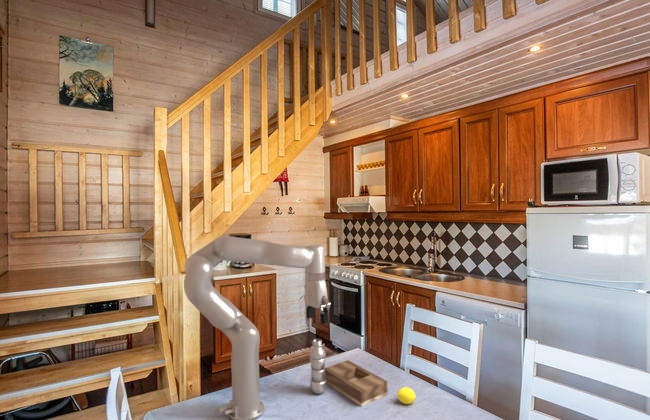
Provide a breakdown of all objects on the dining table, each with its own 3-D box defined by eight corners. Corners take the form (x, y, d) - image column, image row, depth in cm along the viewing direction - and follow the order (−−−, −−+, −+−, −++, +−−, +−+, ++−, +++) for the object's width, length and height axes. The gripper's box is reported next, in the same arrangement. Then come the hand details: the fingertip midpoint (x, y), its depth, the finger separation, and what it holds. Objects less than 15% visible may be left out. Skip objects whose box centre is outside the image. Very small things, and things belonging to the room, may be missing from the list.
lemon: (412, 399, 131) (414, 385, 131) (417, 407, 126) (418, 392, 126) (394, 398, 131) (395, 383, 131) (397, 406, 125) (399, 391, 126)
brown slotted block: (361, 406, 127) (361, 391, 127) (323, 380, 146) (323, 368, 146) (387, 394, 134) (387, 381, 134) (348, 372, 154) (348, 360, 154)
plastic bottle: (327, 387, 141) (326, 337, 141) (326, 396, 134) (324, 343, 134) (311, 387, 142) (310, 337, 142) (309, 396, 135) (307, 343, 135)
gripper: (296, 275, 143) (297, 317, 143) (320, 281, 129) (321, 328, 129) (311, 272, 147) (313, 313, 147) (336, 278, 133) (338, 323, 133)
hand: (317, 320), depth 138 cm, fingers open, 9 cm apart
